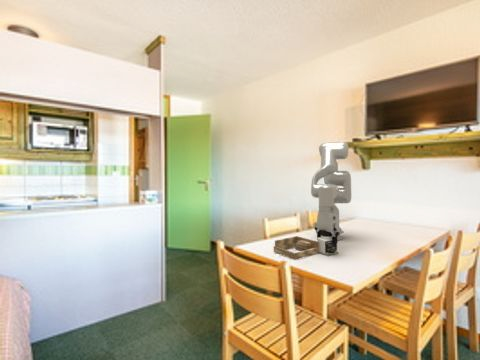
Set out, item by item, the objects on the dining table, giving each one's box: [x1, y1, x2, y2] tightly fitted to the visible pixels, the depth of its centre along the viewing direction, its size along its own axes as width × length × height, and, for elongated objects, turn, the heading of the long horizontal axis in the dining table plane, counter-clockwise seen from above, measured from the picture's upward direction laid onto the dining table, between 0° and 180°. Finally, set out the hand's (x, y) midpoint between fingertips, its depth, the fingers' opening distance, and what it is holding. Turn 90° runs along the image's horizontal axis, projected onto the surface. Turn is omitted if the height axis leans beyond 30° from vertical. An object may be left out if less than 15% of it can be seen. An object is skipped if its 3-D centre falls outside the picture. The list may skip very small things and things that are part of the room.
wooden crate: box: [273, 235, 319, 261], centre depth 140 cm, size 17×16×6 cm
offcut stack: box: [295, 240, 312, 252], centre depth 144 cm, size 4×9×5 cm, turn 32°
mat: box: [318, 251, 340, 257], centre depth 139 cm, size 8×8×1 cm
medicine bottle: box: [316, 230, 338, 255], centre depth 139 cm, size 7×7×12 cm
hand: (326, 242), depth 139 cm, fingers open, 9 cm apart
